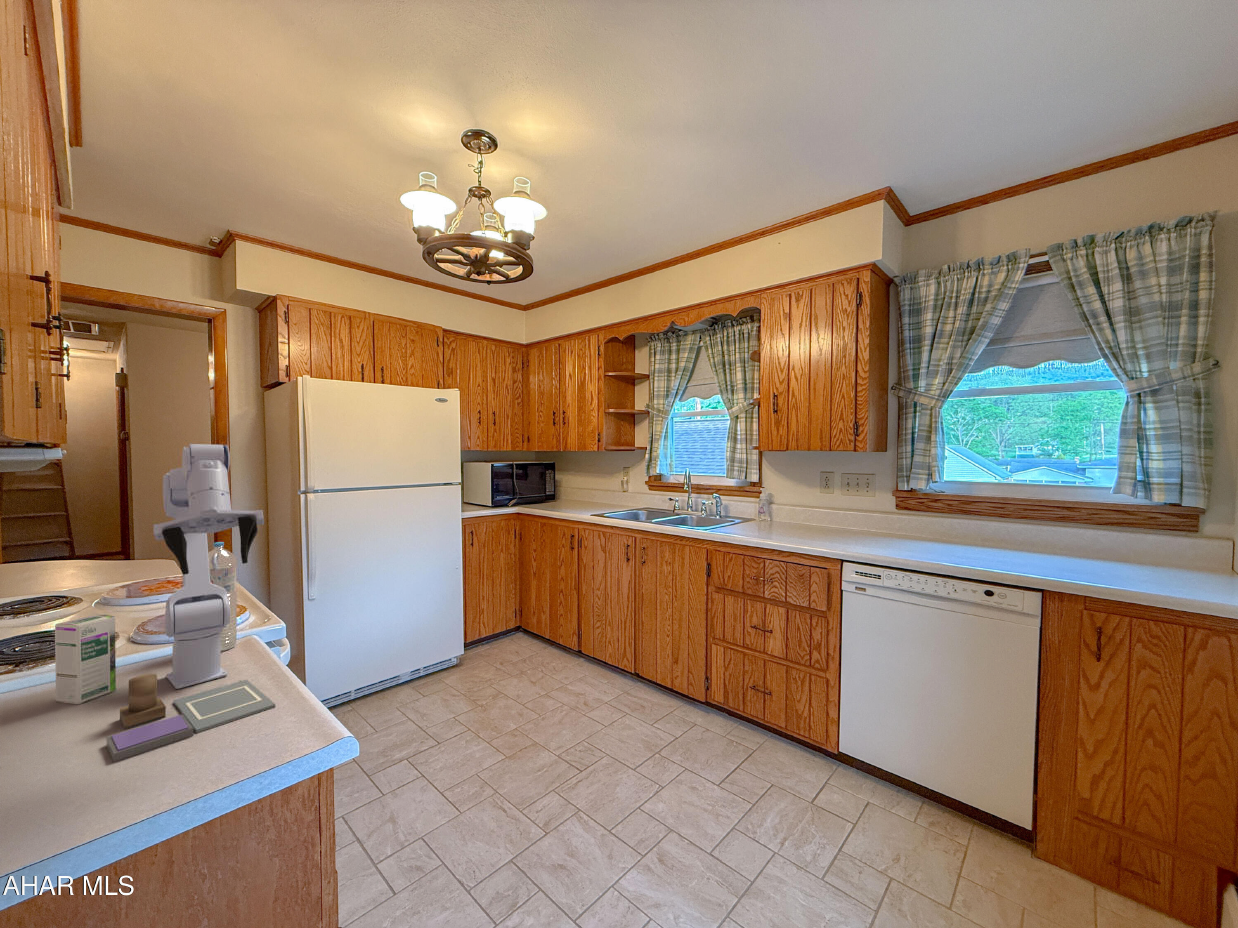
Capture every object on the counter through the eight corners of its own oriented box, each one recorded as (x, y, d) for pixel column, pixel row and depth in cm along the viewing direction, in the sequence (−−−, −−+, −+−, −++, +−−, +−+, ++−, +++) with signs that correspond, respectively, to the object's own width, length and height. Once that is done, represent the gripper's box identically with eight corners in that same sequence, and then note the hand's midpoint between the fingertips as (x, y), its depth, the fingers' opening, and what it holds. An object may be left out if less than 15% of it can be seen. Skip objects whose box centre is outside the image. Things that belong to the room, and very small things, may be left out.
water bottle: (196, 649, 115) (196, 542, 115) (232, 641, 120) (233, 539, 120) (202, 656, 111) (203, 546, 111) (239, 648, 116) (240, 542, 116)
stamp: (119, 719, 84) (119, 678, 84) (159, 708, 88) (159, 669, 88) (124, 729, 81) (125, 687, 81) (165, 717, 85) (165, 677, 85)
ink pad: (106, 744, 76) (106, 735, 76) (182, 720, 83) (182, 712, 83) (113, 761, 72) (113, 752, 72) (193, 735, 79) (193, 726, 79)
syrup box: (78, 705, 88) (78, 624, 88) (53, 701, 90) (54, 622, 90) (116, 690, 94) (117, 615, 94) (92, 687, 95) (93, 613, 95)
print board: (173, 702, 90) (173, 699, 90) (246, 681, 98) (246, 678, 98) (196, 732, 80) (196, 729, 80) (275, 706, 89) (275, 703, 89)
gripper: (148, 492, 80) (150, 564, 74) (258, 480, 89) (267, 544, 83) (158, 515, 85) (160, 585, 79) (261, 502, 93) (270, 564, 87)
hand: (215, 565), depth 81 cm, fingers open, 7 cm apart
